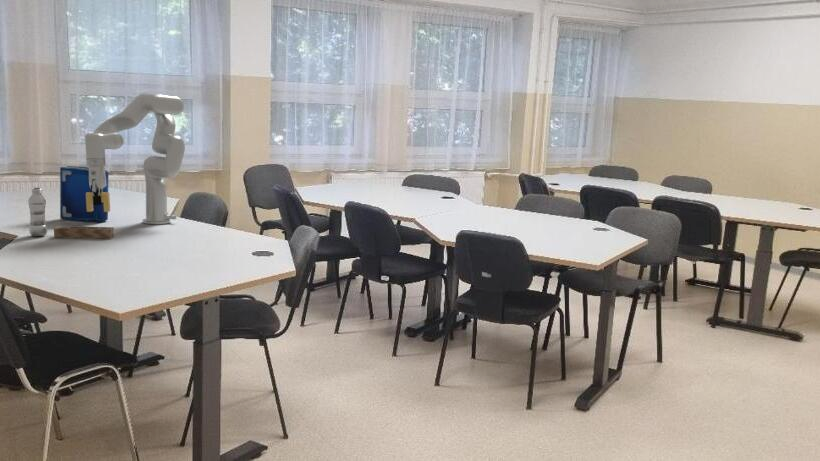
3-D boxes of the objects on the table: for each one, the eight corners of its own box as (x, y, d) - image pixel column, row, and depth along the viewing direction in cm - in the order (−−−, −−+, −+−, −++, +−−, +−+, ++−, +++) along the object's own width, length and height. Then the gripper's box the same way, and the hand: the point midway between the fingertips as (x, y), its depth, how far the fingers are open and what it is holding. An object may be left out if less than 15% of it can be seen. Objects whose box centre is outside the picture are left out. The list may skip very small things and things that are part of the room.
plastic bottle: (40, 238, 295) (38, 189, 291) (25, 236, 296) (23, 188, 292) (50, 235, 301) (49, 188, 297) (36, 234, 302) (35, 186, 299)
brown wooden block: (113, 236, 306) (113, 227, 305) (110, 239, 300) (110, 229, 300) (58, 235, 302) (58, 225, 302) (54, 237, 297) (53, 228, 296)
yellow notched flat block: (110, 210, 315) (109, 192, 313) (108, 211, 312) (107, 193, 311) (88, 210, 313) (87, 192, 312) (86, 211, 311) (85, 193, 309)
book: (111, 221, 341) (110, 168, 337) (103, 223, 334) (102, 169, 330) (67, 217, 343) (66, 165, 339) (59, 220, 336) (57, 166, 332)
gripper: (100, 164, 301) (102, 207, 305) (109, 160, 317) (111, 201, 321) (81, 164, 300) (84, 207, 304) (91, 159, 315) (94, 201, 319)
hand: (98, 204), depth 312 cm, fingers closed on yellow notched flat block, 2 cm apart
